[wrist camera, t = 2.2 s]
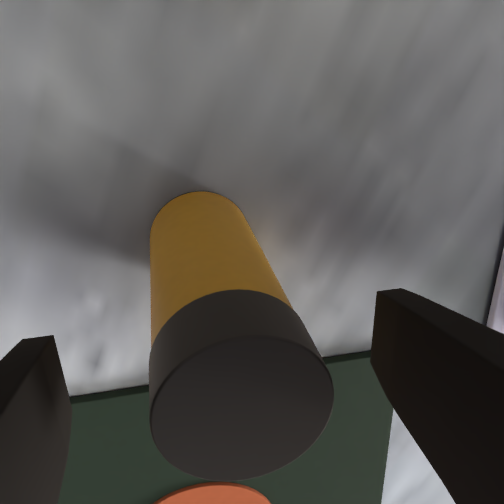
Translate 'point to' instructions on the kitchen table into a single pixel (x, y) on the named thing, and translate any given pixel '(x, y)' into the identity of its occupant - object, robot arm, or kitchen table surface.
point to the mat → (231, 492)
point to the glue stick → (227, 349)
